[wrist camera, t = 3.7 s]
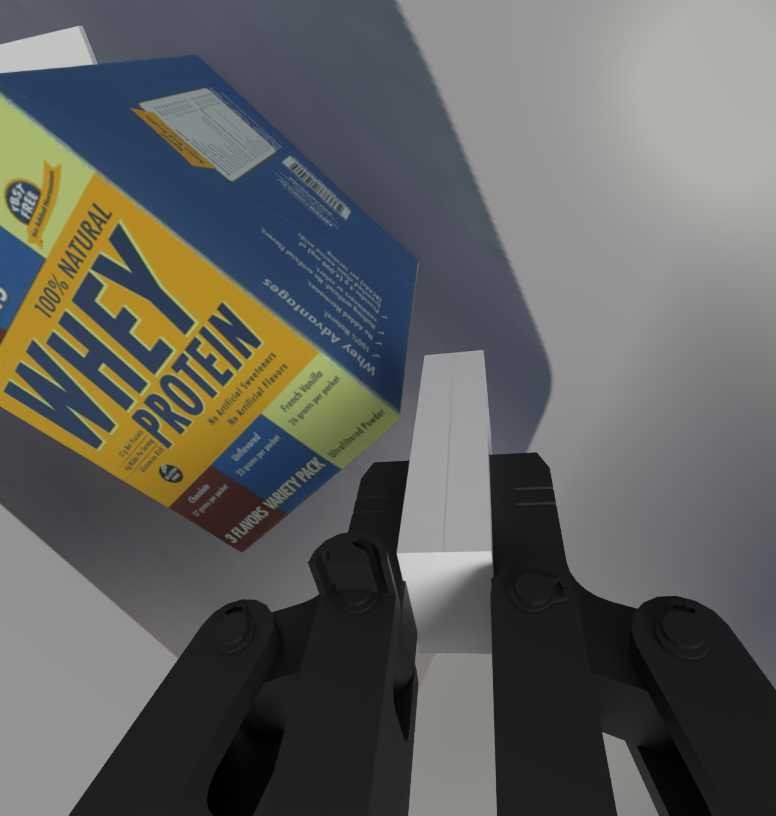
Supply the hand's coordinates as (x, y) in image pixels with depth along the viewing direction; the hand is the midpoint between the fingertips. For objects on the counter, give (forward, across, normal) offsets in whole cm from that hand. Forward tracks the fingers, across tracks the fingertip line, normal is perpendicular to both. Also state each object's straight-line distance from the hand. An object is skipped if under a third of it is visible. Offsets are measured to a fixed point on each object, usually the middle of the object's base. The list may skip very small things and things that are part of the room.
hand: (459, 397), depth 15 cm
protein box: (+18, -11, 0) cm, 21 cm away
